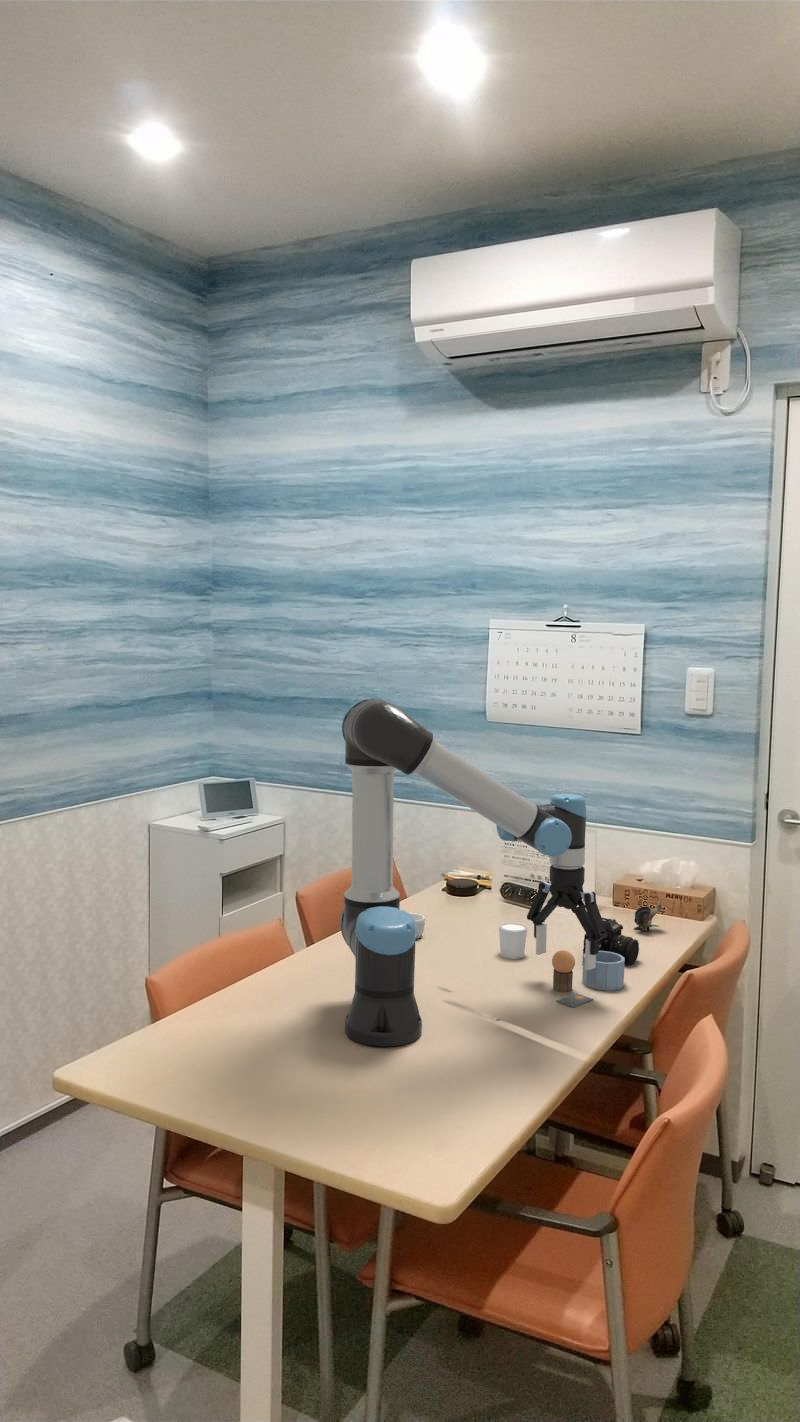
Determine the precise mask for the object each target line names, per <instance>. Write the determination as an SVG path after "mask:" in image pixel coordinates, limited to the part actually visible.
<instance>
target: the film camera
mask: <svg viewBox="0 0 800 1422" xmlns="http://www.w3.org/2000/svg"><path fill="white" fill-rule="evenodd" d="M601 918H602V920H603V923H604V926H605V929H606V932H607V937H605V938H602V939H599V951H607V952H613V953H616V954H620V955H621V956H623V957H624V958H625V965H627V966H632V965H635V963H636V961H637V960H638V957H639V953H640V943H639V940H638V939H635V938H633V937H632V936H627V935H624V934H622V930H623V929H624V926H623V925H622V924H621V923H619V922H617V920H616V919H615V918H607V917H602V916H601ZM583 937H584V939H583V949H582V957H583V956H584V953H585V948H586V939H589V937H588V936H587V934H586V933H584V936H583ZM581 965H582V966H583V962H582V964H581ZM625 965H624V966H625Z"/></svg>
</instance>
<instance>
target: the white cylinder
mask: <svg viewBox="0 0 800 1422" xmlns="http://www.w3.org/2000/svg"><path fill="white" fill-rule="evenodd" d="M498 930H499V931H498V933H499V951H500V956H501V957H503V958H506V959H510V960H511V959H512V960H515V959H517V960H518V959H521V958H523V957H524V956H525V949H526V942H527V936H528V935H527V934H528V927H527V926H526V925H523V924H518V923H504V924H500V925H499V926H498Z"/></svg>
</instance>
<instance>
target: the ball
mask: <svg viewBox="0 0 800 1422" xmlns="http://www.w3.org/2000/svg"><path fill="white" fill-rule="evenodd" d="M551 965H552V966H553V970H554V969H555V970H556V971H557V972H560V973H569V972H571V971H572V972H573V970H574V968H575V965H576V959H575V957H574V955H573V954H572V953H571V952H570V951H568V950H565V949H561V950H558V951H556V952H555V953H554V954H553V956H552V957H551Z"/></svg>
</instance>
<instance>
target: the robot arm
mask: <svg viewBox="0 0 800 1422" xmlns="http://www.w3.org/2000/svg"><path fill="white" fill-rule="evenodd" d="M341 733H342V736H343V739H344V742H345V745H344V746H345V750H344V751H345V752H344V753H345V755H344V756H345V760H344V761H345V762H344V763H345V766H347V768H349V770H350V771H351V772H352V780H351V782H352V784H351V785H352V786H351V787H352V791H351V792H352V795H351V797H352V798H351V799H352V800H351V801H352V803H351V805H352V807H351V809H352V811H351V815H352V816H351V818H352V819H351V820H352V821H351V884H350V887H349V888H348V889H346V891H344V897H343V898H344V899H343V901H344V903H343V904H344V905H343V906H344V907H343V911H342V913H341V915H340V916H341V917H340V932H341V935H342V938H343V940H344V942H345V943H346V945H347V946H348V948H349V950H350V952H351V953H352V955H353V956H354V958H355V959H354V960H355V966H354V967H355V969H354V994H353V997H352V1000H351V1002H350V1007H349V1012H348V1013H347V1015H346V1017H345V1018H344V1019H345V1021H344V1032H345V1034H346V1036H347V1037H348V1038H350V1040H353V1041H355V1042H357V1043H360V1044H363V1045H368V1046H376V1047H377V1046H378V1047H395V1046H400V1045H406V1044H409V1043H412V1042H414V1041H416V1040H418V1039H419V1038H421V1036H422V1031H423V1020H422V1016H421V1015H420V1012H419V1011H420V1010H419V1007H418V1003H417V1000H416V997H415V973H416V972H415V968H416V967H415V965H416V940H417V939H416V929H415V921H414V919H413V917H412V916H411V915H410V914H409V913H410V912H407V911H405V910H403V909H401V907H400V906H401V905H400V904H401V901H400V900H401V898H400V897H401V895H400V892H399V891H398V890H397V889H396V888H395V886H394V885H393V881H394V880H393V879H394V877H393V875H394V871H393V869H394V865H393V864H394V792H395V791H394V786H395V785H394V784H395V783H394V782H395V781H394V780H395V776H394V775H395V772H396V771H397V770H398V771H400V772H402V773H403V774H404V775H406V776H411V775H412V776H413V775H417V776H418V777H419V778H421V779H423V780H424V781H426V782H427V783H429V784H430V785H432V786H433V787H435V788H437V789H438V790H440V791H442V792H443V793H445V794H447V795H448V796H450V797H451V798H453V799H455V800H456V801H458V802H459V803H461V804H463V805H464V806H466V807H468V808H469V809H471V810H472V811H474V812H476V813H477V814H479V815H481V816H482V817H483V818H485V819H487V820H489V821H490V822H491V823H493V824H495V825H496V832H497V835H498V837H499V839H501V840H502V841H504V842H506V841H507V842H514V843H515V842H517V841H519V842H523V844H526V845H528V846H529V847H532V848H533V849H534V850H536V851H538V853H541V854H542V855H544V856H549V863H550V864H551V865H550V866H549V880H545V881H541V882H539V883H538V887H537V893H536V894H535V897H534V899H533V902H532V904H531V907H530V908H529V910H528V912H527V914H526V919H527V920H528V921H531V922H532V923H533V936H534V939H535V955H537V956H539V955H542V954H545V953H547V932H548V931H547V930H548V929H547V927H548V926H547V925H548V924H547V923H545V922H546V919H548V917H550V915H551V914H552V912H553V911H555V909H556V908H557V907H558V908H563V909H566V910H571V912H572V913H573V914H574V915H575V917H576V918H577V919H578V922H579V923H580V925H581V927H582V929H583V930H584V932H585V934H587V936H588V937H589V939H586V948H585V970H590V969H593V968H596V954H598V952H599V939H602V938H605V937H607V932H606V929H605V926H604V923H603V920H602V918H601V917H602V916H601V912H600V909H599V907H598V903H597V898H596V897H597V896H596V893H595V891H590V892H585V891H584V888H583V886H584V883H585V869H586V868H585V867H584V865H585V864H586V863H585V861H586V858H585V857H586V828H587V827H586V826H587V825H586V824H587V823H586V822H587V806H586V799H585V798H584V797H583V795H580V794H576V793H555V794H553V795H552V796H551V797H550V798H551V799H550V802H549V803H548V804H547V803H546V804H537V805H536V804H535V803H533V802H531V801H530V800H528V799H527V798H526V797H523V796H522V795H521V794H519V793H517V792H516V791H515V790H512V789H511V788H509V787H508V786H507V785H505V784H503V783H502V782H500V781H499V780H497V779H496V778H494V777H492V776H491V775H490V774H488V773H486V772H484V771H483V770H482V769H480V768H479V767H477V766H476V765H474V764H472V763H470V762H469V761H467V760H466V759H464V758H463V757H462V756H460V755H458V754H456V753H455V752H453V751H451V750H450V749H449V748H447V747H446V746H444V745H442V744H441V743H439V742H437V741H436V735H435V734H434V733H433V732H431V731H430V730H428V729H427V728H425V727H424V726H423V725H421V724H420V723H419V722H417V721H416V720H415V719H413V717H411V716H410V715H409V714H408V713H407V712H406V711H404V710H403V709H402V708H400V707H399V706H398V705H396V704H395V703H391V702H387V701H385V700H384V699H380V698H366V699H365V698H364V699H362V700H359V701H356V702H354V703H353V704H352V705H351V706H350V707H349V708H348V709H347V711H346V712H345V714H344V716H343V719H342V722H341ZM549 893H550V894H551V897H550V898H549V899H548V900H547V897H548V896H549ZM546 900H547V903H546V904H545V902H546ZM544 904H545V906H544V907H543V905H544Z"/></svg>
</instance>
